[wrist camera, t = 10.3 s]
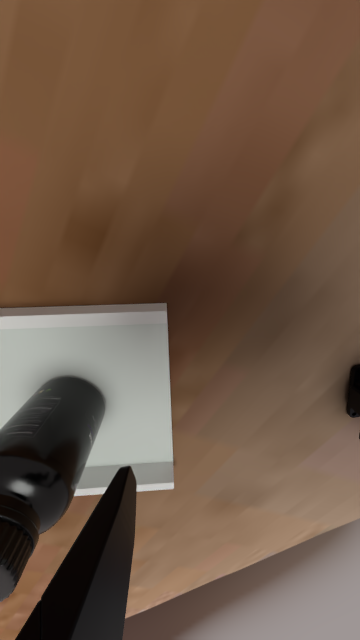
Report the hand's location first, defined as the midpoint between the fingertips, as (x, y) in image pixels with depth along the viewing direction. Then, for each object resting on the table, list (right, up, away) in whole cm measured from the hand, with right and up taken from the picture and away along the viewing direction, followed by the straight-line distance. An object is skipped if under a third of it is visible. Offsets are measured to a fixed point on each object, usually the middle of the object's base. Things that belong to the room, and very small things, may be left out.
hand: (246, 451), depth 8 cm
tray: (-13, -3, +13) cm, 19 cm away
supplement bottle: (-13, -3, +13) cm, 19 cm away
